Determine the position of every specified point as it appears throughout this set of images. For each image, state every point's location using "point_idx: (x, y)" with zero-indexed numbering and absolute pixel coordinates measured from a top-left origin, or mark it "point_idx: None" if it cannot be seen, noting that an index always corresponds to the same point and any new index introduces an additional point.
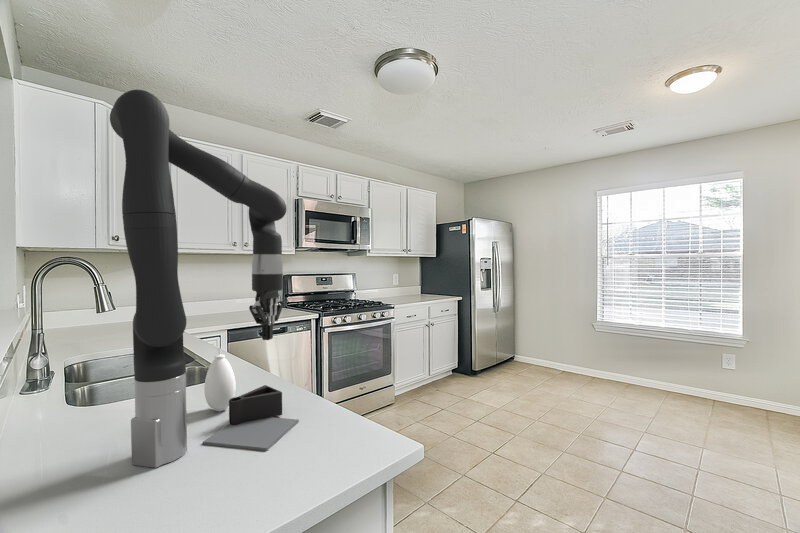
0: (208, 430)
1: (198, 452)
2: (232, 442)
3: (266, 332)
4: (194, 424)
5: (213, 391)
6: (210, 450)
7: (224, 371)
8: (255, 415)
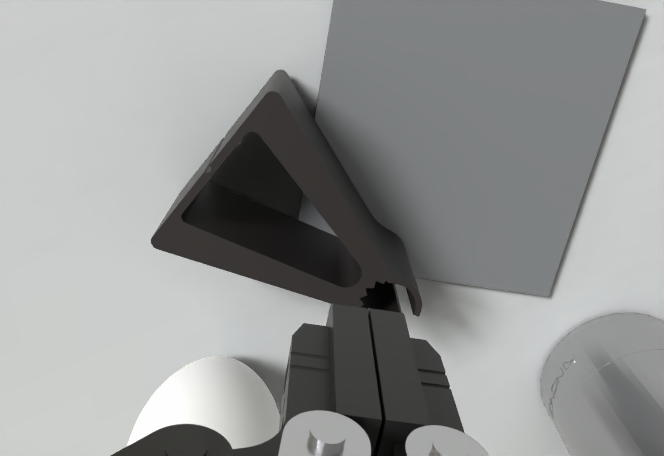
0: (424, 329)
1: (607, 275)
2: (569, 182)
3: (451, 393)
4: None
5: None
6: (597, 241)
7: None
8: (351, 186)
